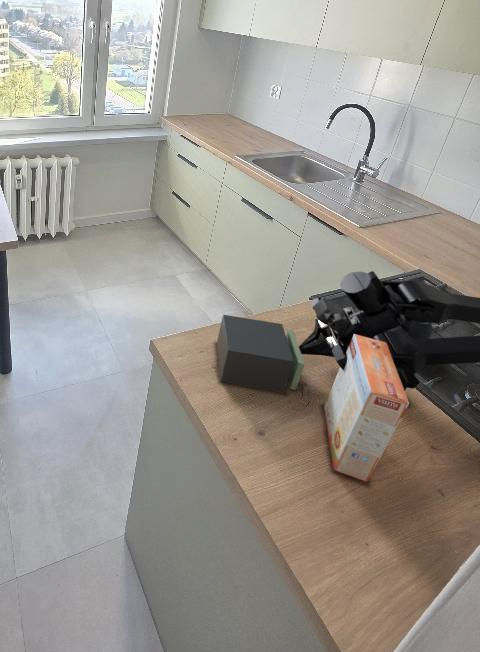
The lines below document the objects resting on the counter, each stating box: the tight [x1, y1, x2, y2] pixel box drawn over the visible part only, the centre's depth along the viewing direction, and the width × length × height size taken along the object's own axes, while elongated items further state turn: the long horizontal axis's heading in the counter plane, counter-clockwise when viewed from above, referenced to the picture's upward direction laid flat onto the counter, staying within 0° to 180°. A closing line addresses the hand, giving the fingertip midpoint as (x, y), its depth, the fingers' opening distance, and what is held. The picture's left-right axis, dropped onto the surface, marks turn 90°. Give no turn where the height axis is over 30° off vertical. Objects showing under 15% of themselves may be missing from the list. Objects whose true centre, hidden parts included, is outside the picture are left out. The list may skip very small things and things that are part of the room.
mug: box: [389, 320, 434, 339], centre depth 102 cm, size 12×9×11 cm
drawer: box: [285, 329, 306, 391], centre depth 94 cm, size 14×10×8 cm
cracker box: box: [323, 334, 410, 483], centre depth 77 cm, size 14×6×21 cm, turn 160°
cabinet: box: [216, 314, 294, 394], centre depth 95 cm, size 13×11×9 cm
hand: (298, 351), depth 92 cm, fingers closed, pressing on drawer
